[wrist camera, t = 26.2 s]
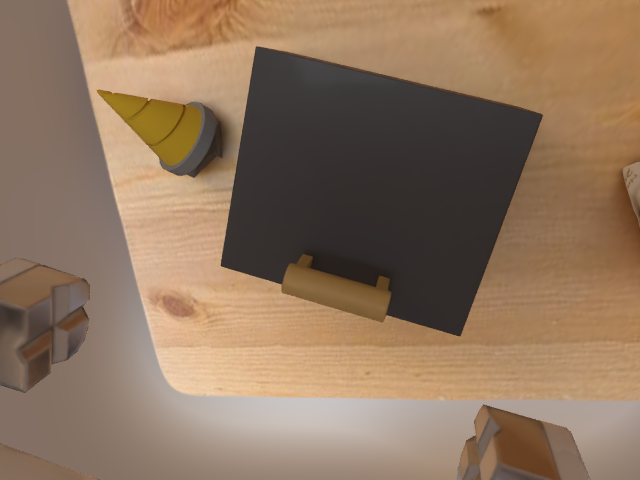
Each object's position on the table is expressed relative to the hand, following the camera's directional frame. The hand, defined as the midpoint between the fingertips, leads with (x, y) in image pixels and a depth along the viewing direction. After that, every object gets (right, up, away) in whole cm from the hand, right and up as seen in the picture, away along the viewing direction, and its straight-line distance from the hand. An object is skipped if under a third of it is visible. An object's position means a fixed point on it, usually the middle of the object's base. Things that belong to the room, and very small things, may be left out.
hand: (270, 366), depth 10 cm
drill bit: (-9, +11, +28) cm, 31 cm away
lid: (+4, +5, +20) cm, 21 cm away
